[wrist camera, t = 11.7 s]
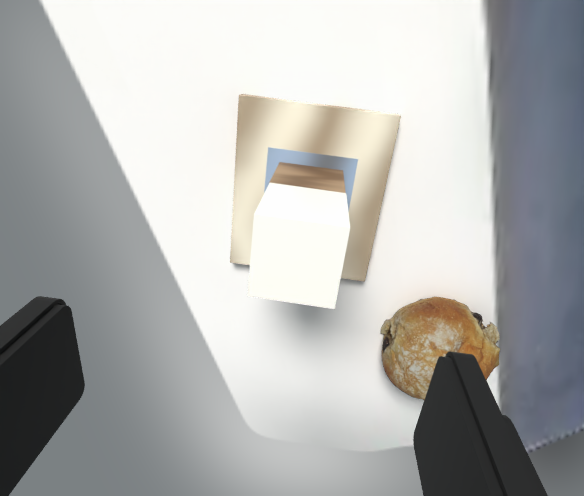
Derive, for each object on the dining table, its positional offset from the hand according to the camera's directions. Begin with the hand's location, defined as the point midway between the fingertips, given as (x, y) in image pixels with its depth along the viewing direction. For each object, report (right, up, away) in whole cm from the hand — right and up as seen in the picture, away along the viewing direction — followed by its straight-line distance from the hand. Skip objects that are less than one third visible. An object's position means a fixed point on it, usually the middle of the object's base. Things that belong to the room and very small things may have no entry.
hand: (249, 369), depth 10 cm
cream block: (+2, +5, +17) cm, 18 cm away
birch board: (+2, +8, +24) cm, 25 cm away
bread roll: (+15, -5, +29) cm, 33 cm away
